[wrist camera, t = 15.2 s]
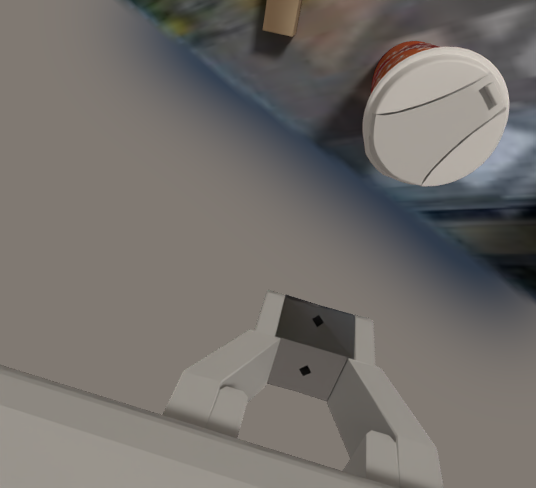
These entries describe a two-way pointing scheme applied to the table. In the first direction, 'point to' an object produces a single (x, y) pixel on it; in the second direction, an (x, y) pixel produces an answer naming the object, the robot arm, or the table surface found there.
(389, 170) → the paper cup
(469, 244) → the table surface
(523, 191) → the table surface
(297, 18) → the block
